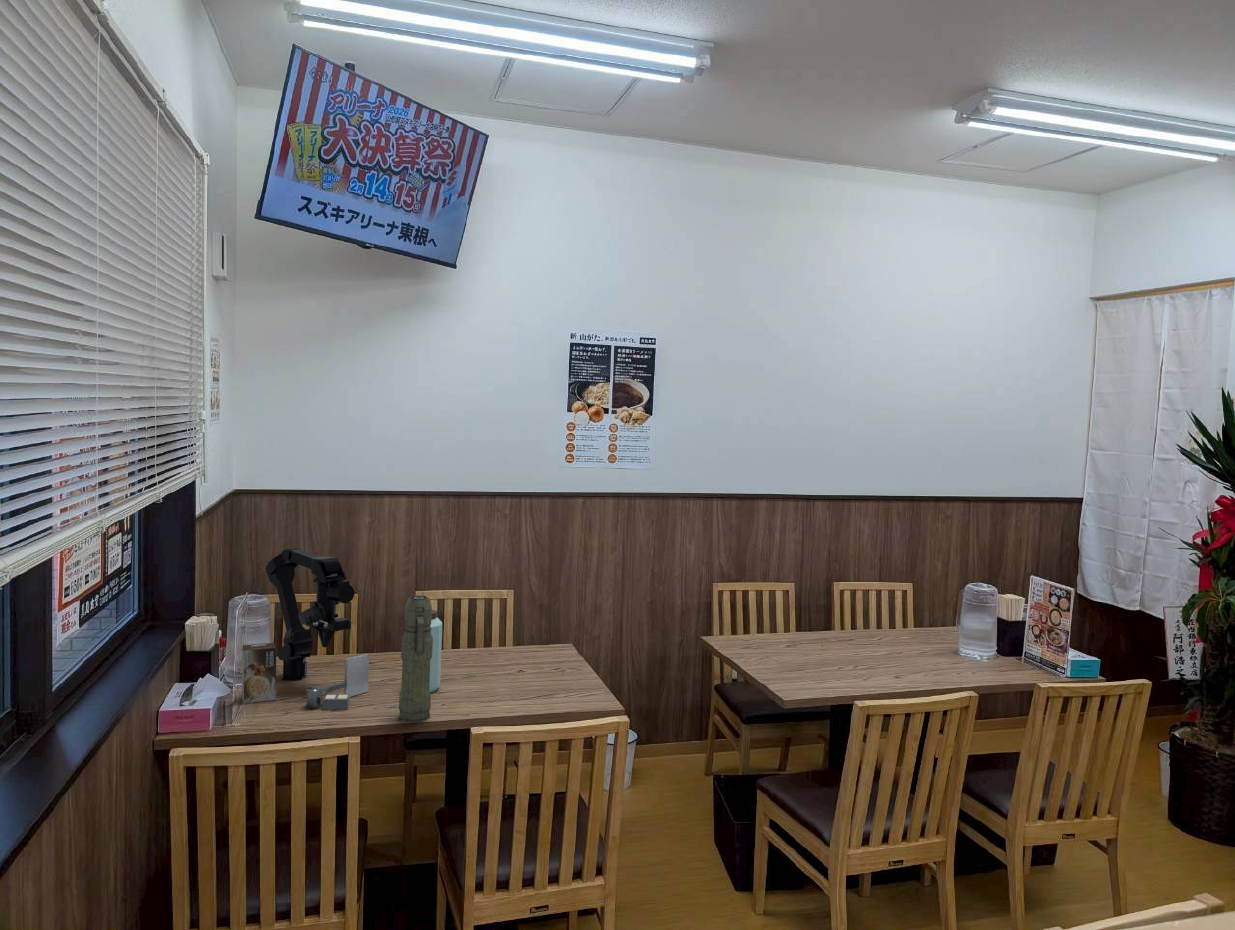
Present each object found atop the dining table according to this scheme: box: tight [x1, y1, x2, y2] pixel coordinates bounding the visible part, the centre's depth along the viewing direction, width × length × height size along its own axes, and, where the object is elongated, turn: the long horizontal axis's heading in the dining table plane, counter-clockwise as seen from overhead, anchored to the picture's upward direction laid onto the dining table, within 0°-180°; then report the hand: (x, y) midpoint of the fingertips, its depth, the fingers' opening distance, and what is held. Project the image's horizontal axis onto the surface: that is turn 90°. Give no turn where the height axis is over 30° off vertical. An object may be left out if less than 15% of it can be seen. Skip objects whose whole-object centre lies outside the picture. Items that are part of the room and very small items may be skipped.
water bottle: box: [429, 609, 443, 694], centre depth 265 cm, size 10×10×25 cm
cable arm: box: [305, 653, 370, 710], centre depth 251 cm, size 21×4×12 cm, turn 144°
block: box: [322, 693, 351, 711], centre depth 246 cm, size 7×4×3 cm, turn 99°
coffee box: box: [241, 642, 277, 704], centre depth 249 cm, size 9×6×16 cm
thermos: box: [398, 595, 433, 723], centre depth 240 cm, size 9×12×35 cm
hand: (324, 647), depth 261 cm, fingers closed
